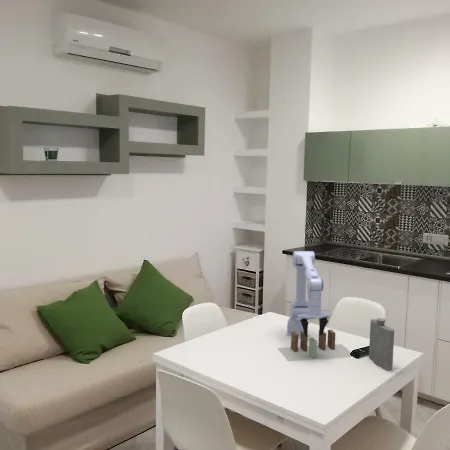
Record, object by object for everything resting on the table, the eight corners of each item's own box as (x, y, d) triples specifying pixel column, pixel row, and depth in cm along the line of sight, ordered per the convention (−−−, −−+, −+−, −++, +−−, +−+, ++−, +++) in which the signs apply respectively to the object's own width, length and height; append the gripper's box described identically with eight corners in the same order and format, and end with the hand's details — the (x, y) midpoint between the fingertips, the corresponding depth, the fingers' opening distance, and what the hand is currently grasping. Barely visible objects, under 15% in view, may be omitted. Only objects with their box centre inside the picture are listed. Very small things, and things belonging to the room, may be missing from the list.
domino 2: (303, 351, 233) (304, 334, 232) (300, 347, 238) (300, 331, 237) (307, 351, 234) (307, 334, 233) (303, 347, 238) (303, 331, 237)
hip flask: (393, 370, 214) (396, 324, 211) (385, 371, 213) (387, 325, 210) (373, 356, 229) (375, 313, 227) (365, 357, 228) (367, 314, 226)
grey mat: (288, 361, 222) (288, 361, 222) (277, 348, 238) (277, 348, 238) (356, 357, 228) (356, 356, 228) (341, 344, 244) (341, 344, 244)
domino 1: (294, 352, 232) (294, 335, 231) (290, 348, 237) (291, 331, 236) (297, 352, 233) (298, 335, 232) (294, 348, 238) (294, 331, 237)
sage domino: (312, 358, 225) (313, 341, 224) (308, 354, 230) (309, 337, 229) (316, 358, 225) (316, 341, 224) (312, 354, 230) (312, 337, 229)
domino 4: (331, 349, 236) (332, 333, 235) (327, 346, 241) (327, 329, 240) (334, 349, 236) (335, 333, 235) (330, 345, 241) (331, 329, 240)
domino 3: (322, 350, 235) (323, 333, 234) (318, 346, 240) (318, 330, 239) (325, 350, 235) (326, 333, 234) (321, 346, 240) (322, 330, 239)
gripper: (301, 308, 219) (300, 338, 221) (333, 306, 222) (332, 336, 224) (296, 303, 226) (295, 333, 228) (327, 302, 229) (326, 331, 230)
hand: (313, 334), depth 226 cm, fingers open, 6 cm apart
